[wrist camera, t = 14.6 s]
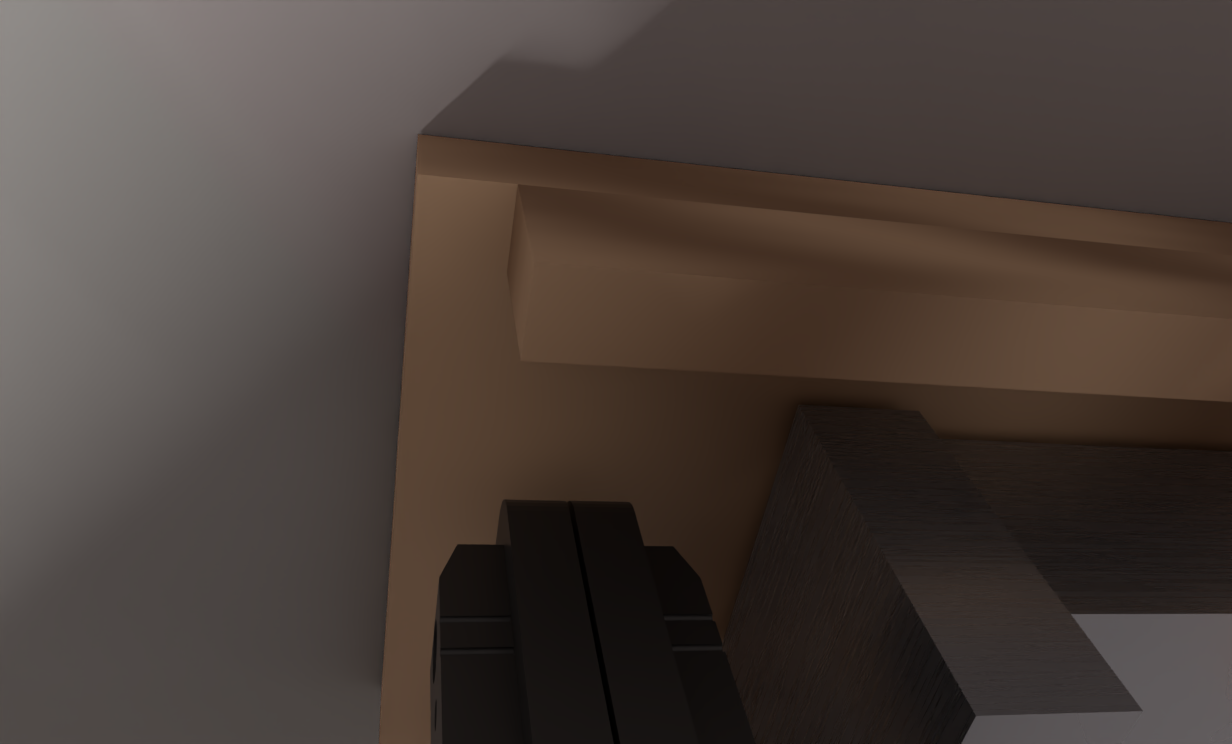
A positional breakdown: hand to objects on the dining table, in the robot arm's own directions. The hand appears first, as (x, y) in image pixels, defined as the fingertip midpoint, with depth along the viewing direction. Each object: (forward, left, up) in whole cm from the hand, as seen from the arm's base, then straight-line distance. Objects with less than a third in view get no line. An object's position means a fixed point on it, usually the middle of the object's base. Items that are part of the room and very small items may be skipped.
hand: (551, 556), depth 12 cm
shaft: (+7, 0, -1) cm, 7 cm away
